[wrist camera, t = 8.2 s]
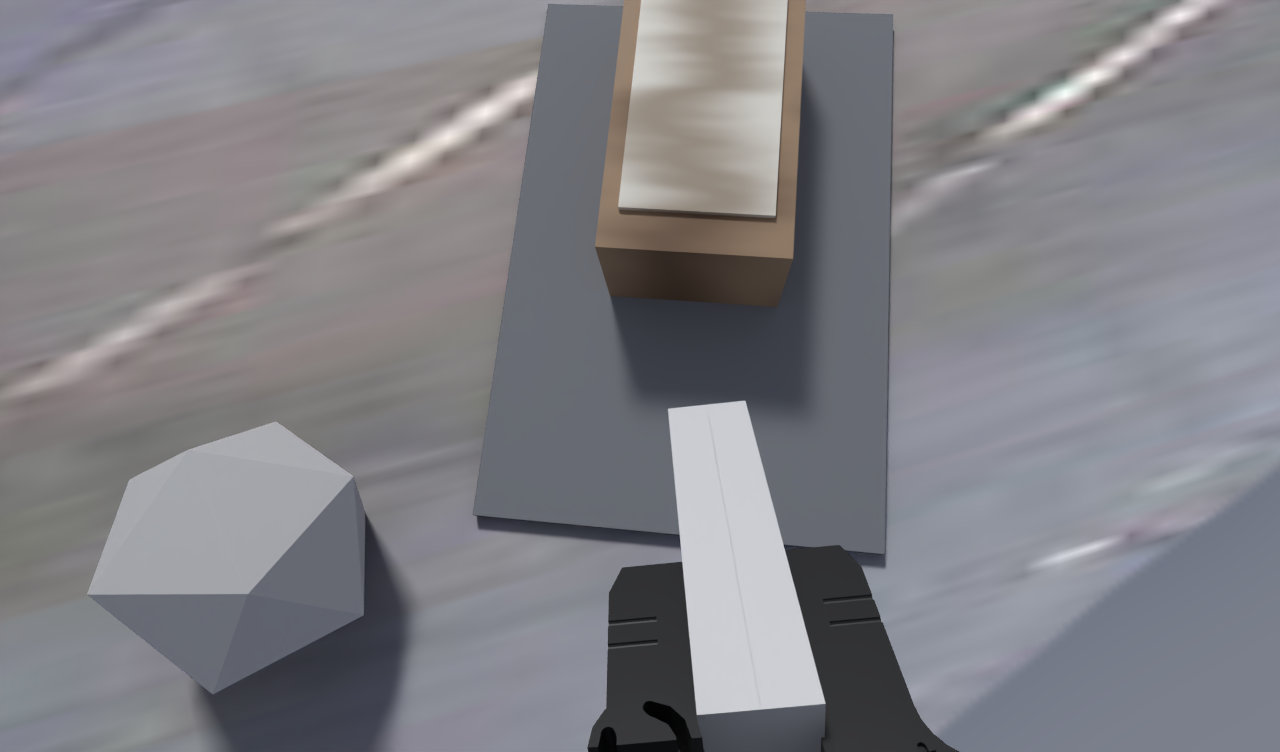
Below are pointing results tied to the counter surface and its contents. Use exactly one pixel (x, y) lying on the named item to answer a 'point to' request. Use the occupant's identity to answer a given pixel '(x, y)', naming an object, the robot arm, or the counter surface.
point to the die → (236, 554)
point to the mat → (697, 314)
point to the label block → (703, 151)
